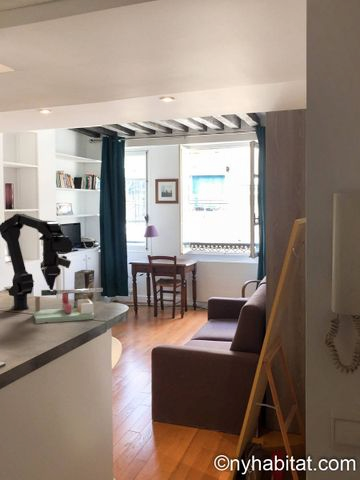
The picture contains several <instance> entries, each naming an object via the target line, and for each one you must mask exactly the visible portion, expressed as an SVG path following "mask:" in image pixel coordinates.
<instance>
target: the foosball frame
mask: <svg viewBox="0 0 360 480" xmlns="http://www.w3.org/2000/svg"><path fill="white" fill-rule="evenodd" d="M34 299H35V304H34V305H35V309H34V310H33V317H34V320H35V324H45V322H48V323H58V322H60V323H61V322H71V321H73V322H74V321H83V320H84V321H85V320H95V313H94V303H92V302H91V300H90V299H87V294H83V299H81V300H78V307H71V313H65V312H64V310H63V308H51V309H41V307H40V306H41V303H40V302H41V300H40V299H41V297H40V296H35V298H34ZM80 307H81V313H79V312H78V309H79V308H80Z"/></svg>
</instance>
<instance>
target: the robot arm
mask: <svg viewBox="0 0 360 480" xmlns="http://www.w3.org/2000/svg"><path fill="white" fill-rule="evenodd" d="M59 224H60V223H59V222H58V221H55V220H43V219H40V218H36V217H34V216H31V215H28V214H25V213H15V214H14V215H13V216H11V217H9V218H8V219H6V220H4V221H2V222H1V223H0V236H1V238H2V239H3V241H5V242H6V244H7V248H8V252H9V257H10V260H11V261H10V262H11V265H12V269H13V274H14V275H13V277H12V279H11V280H12V286H11V287H10V288H9V289H8V295H9V296H12V297H13V305H12V310H13V311H18V310H29V305H28V295H31V294H32V293H33V289H34V286H35V284H34V283H35V280H34V278H33V277H34V276H33V273H29V272H27V270H26V264H25V261H24V257H23V253H22V248H21V246H20V240H19V239H20V238H21V229H23V228H24V226H26V227H29V228H32V229H35V230H36V231H37V232H38V233H39V234H41V236H40V237H39V238H38V240H40V241H42V261H41V262H40V270H41V273H42V276H43V277H44V281H45V283H46V285H47V286H48V288H49V290H54V286H55V283H56V279H57V277H59V276H60V275H61V268H60V267H59V266H61V267H64V268H66V269H69V268H70V265H71V263H72V260H70V259H68V258H67V256H66V255H62V256H59V254H58V253H64V254H65V253H66V254H69V253H71V252H72V250H73V247H74V245H73V241H72V240H71V239H70V236H67V235H66V236H65V234H64V232H63V230H62V228H61V227H60V225H59Z"/></svg>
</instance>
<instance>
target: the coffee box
mask: <svg viewBox="0 0 360 480" xmlns="http://www.w3.org/2000/svg"><path fill="white" fill-rule="evenodd" d="M93 288H95V270H94V269H81V270H78V271H75V272H74V285H73V290H74V289H93ZM83 294H87V299H90V300H91V302H92V303H93V304H95V292H87V293H73V306H74V307H73V308H77V307H78V300H81V299H83Z"/></svg>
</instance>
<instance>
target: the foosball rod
mask: <svg viewBox="0 0 360 480" xmlns="http://www.w3.org/2000/svg"><path fill="white" fill-rule="evenodd" d="M103 290H104V288H103V287H98V288H95V287H94V288H93V289H74V288H73V289H61V290H60V289H53V290H50V289H41V291H40V295H41V297H45V296H46V297H47V296H48V297H50V296H57V295H61V302H62V308H63V310H64V312H65V313H71V308H72V304H71V302H69V294H74V293H87V292H94V293H100V292H103ZM62 308H61V309H62Z"/></svg>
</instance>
